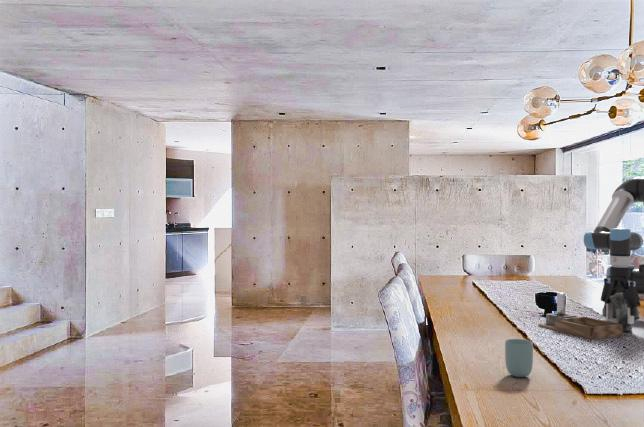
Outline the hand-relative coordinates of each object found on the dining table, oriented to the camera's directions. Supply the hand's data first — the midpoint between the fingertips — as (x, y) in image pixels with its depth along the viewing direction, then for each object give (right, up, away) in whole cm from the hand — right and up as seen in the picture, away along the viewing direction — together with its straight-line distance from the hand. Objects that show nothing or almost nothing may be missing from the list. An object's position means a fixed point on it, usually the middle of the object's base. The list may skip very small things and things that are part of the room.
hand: (619, 321), depth 241 cm
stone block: (0, -4, 0) cm, 4 cm away
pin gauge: (-21, -3, +8) cm, 22 cm away
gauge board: (-17, -4, -1) cm, 17 cm away
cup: (-63, -4, -65) cm, 91 cm away
